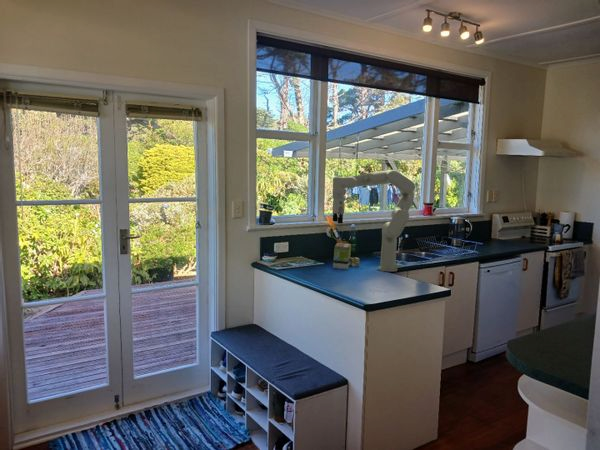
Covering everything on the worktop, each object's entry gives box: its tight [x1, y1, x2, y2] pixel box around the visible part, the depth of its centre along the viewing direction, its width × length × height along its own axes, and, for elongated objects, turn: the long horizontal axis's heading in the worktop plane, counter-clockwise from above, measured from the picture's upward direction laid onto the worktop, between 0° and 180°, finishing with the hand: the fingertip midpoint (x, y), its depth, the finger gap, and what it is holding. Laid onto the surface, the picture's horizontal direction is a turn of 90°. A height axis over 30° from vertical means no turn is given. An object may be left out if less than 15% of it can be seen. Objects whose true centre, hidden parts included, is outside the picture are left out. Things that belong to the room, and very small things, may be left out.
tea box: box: [332, 242, 352, 270], centre depth 300 cm, size 15×10×15 cm
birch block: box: [349, 256, 360, 267], centre depth 306 cm, size 5×5×5 cm
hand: (337, 222), depth 292 cm, fingers open, 9 cm apart
